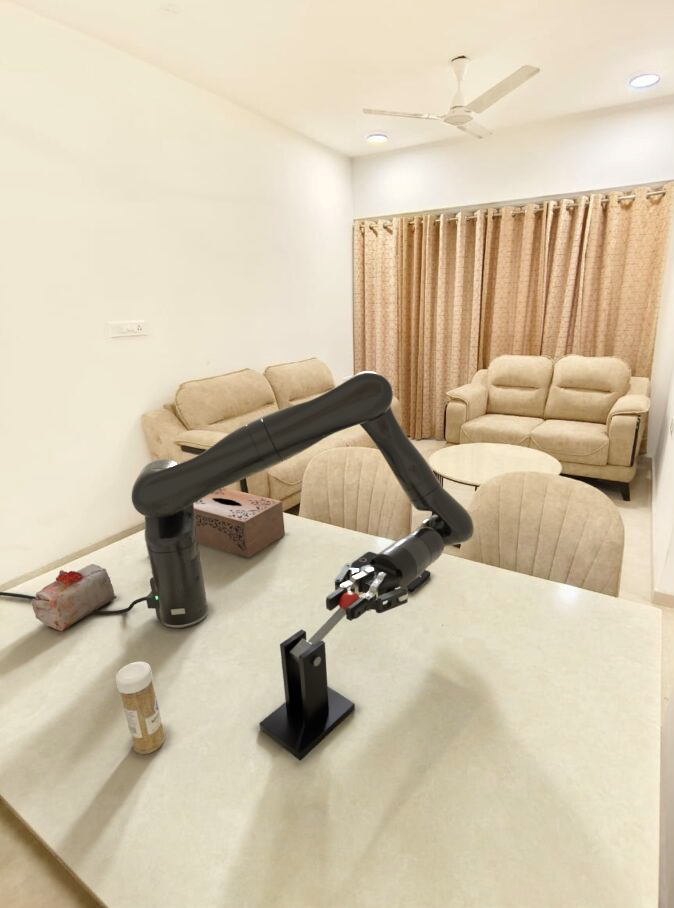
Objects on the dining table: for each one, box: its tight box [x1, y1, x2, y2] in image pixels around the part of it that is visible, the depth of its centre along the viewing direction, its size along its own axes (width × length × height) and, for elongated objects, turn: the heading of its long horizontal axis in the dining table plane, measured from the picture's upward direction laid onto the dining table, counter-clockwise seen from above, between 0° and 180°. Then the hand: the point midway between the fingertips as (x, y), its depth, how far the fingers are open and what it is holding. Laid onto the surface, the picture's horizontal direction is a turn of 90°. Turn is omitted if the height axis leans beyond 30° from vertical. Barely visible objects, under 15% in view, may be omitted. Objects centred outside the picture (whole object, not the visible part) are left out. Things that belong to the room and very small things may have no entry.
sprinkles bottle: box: [115, 661, 166, 755], centre depth 73 cm, size 5×5×14 cm
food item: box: [29, 563, 117, 632], centre depth 103 cm, size 14×8×10 cm, turn 154°
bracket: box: [258, 629, 356, 762], centre depth 76 cm, size 12×9×15 cm
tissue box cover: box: [193, 487, 286, 559], centre depth 136 cm, size 26×14×10 cm, turn 61°
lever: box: [290, 592, 361, 665], centre depth 77 cm, size 14×4×4 cm, turn 141°
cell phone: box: [350, 551, 431, 593], centre depth 118 cm, size 9×18×1 cm, turn 55°
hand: (338, 610), depth 78 cm, fingers closed on lever, 3 cm apart
